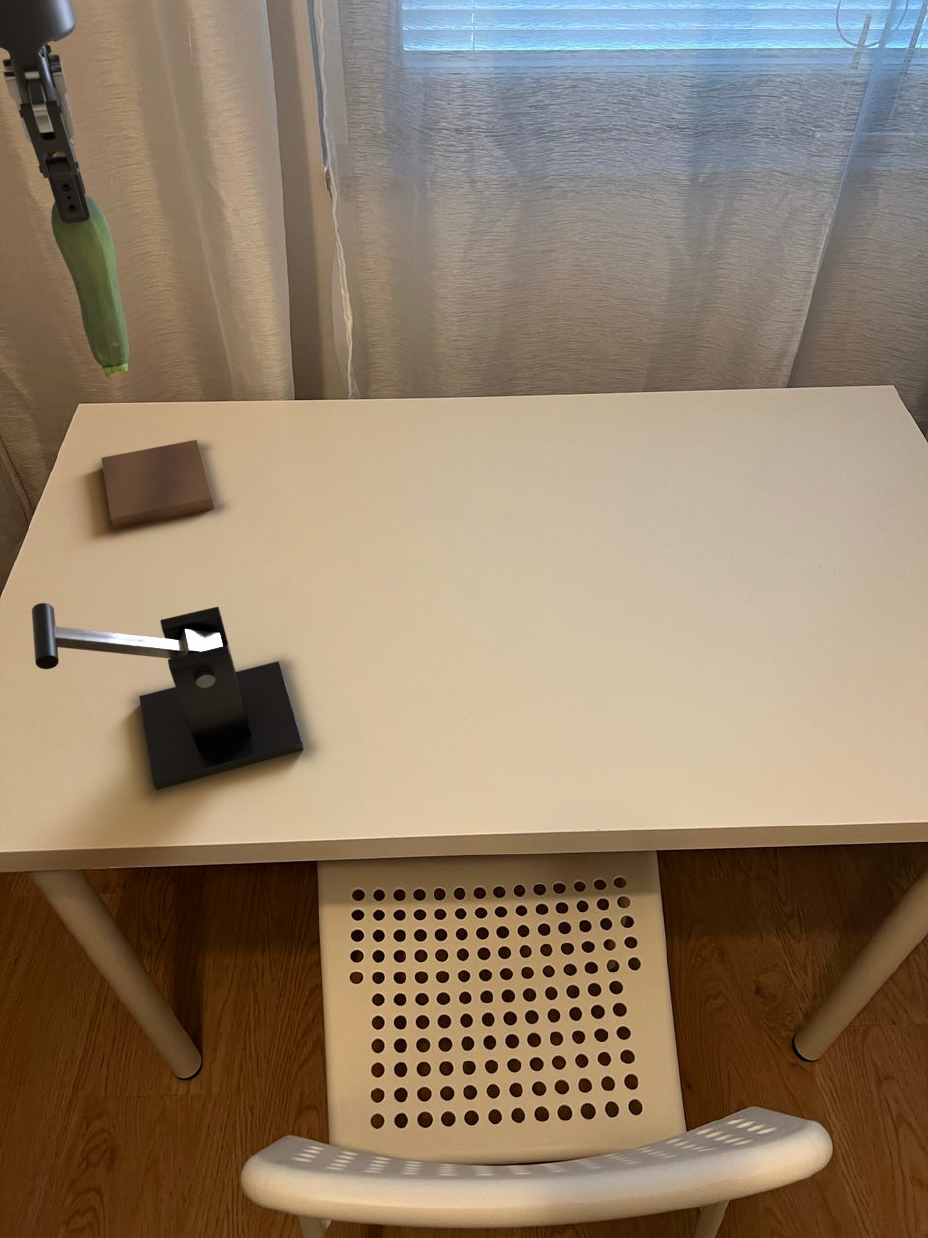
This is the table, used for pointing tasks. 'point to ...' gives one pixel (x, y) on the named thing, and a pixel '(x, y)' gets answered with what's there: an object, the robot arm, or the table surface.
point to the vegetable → (95, 284)
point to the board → (156, 484)
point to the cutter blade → (109, 640)
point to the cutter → (215, 711)
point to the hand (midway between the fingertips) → (74, 207)
